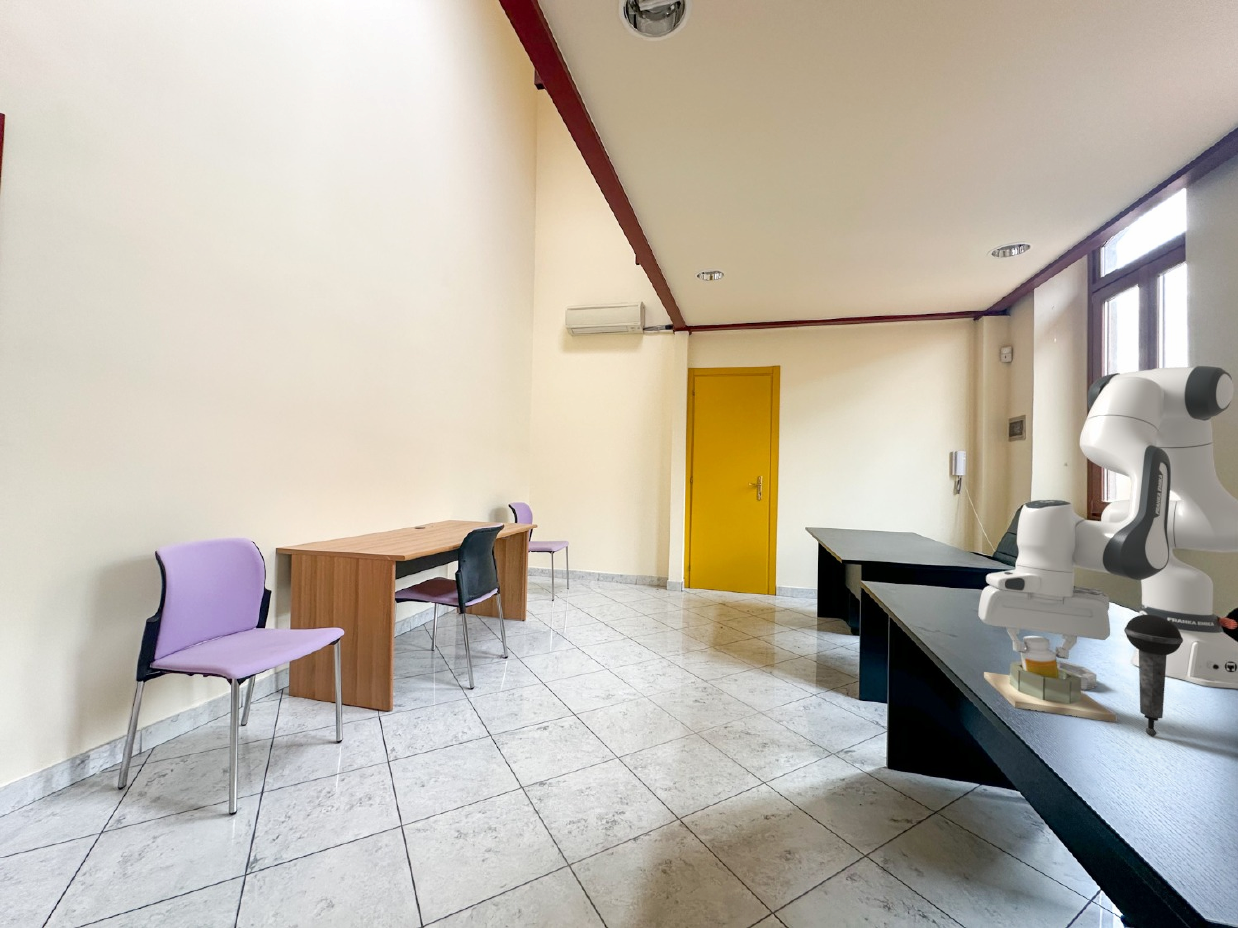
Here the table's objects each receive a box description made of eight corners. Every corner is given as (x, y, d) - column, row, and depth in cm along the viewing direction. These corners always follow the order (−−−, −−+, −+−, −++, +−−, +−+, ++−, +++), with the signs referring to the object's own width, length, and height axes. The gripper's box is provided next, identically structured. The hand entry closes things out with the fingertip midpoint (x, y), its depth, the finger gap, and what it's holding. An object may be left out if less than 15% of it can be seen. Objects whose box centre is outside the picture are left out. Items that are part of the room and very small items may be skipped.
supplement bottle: (1068, 694, 97) (1061, 642, 97) (1036, 695, 98) (1029, 644, 98) (1049, 682, 102) (1042, 633, 102) (1019, 683, 103) (1012, 635, 103)
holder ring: (1076, 673, 113) (1076, 662, 113) (1105, 692, 103) (1105, 679, 103) (1020, 666, 116) (1020, 655, 117) (1043, 684, 107) (1043, 672, 107)
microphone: (1188, 751, 81) (1191, 623, 81) (1128, 737, 85) (1131, 615, 85) (1172, 733, 87) (1174, 614, 87) (1116, 721, 90) (1119, 607, 91)
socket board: (1069, 688, 105) (1070, 663, 105) (1116, 722, 90) (1116, 692, 90) (984, 677, 109) (984, 652, 109) (1015, 707, 95) (1015, 679, 95)
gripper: (1099, 587, 100) (1096, 658, 99) (977, 573, 106) (973, 641, 106) (1120, 593, 94) (1116, 669, 93) (989, 578, 100) (985, 650, 100)
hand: (1039, 654), depth 100 cm, fingers open, 5 cm apart
